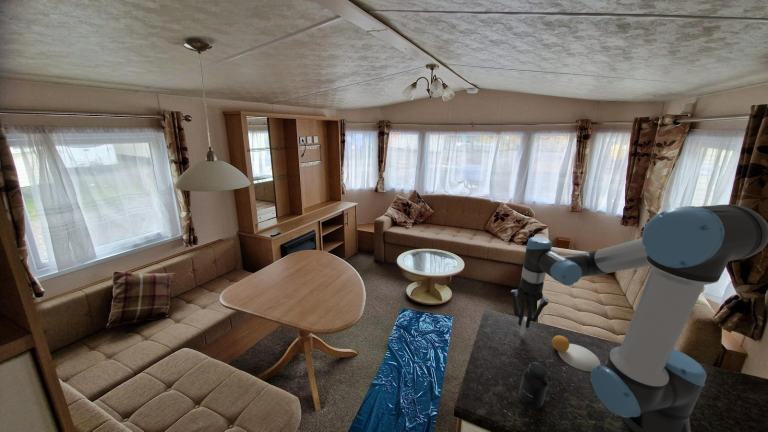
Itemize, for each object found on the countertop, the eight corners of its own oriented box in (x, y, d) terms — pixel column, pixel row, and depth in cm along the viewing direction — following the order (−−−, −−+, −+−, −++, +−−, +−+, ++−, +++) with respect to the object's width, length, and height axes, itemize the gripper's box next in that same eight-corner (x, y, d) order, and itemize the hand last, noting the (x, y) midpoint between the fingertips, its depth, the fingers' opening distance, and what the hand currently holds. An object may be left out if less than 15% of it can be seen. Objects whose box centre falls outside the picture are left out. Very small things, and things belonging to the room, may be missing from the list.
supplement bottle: (519, 406, 92) (526, 374, 88) (517, 387, 98) (523, 356, 94) (545, 412, 90) (553, 380, 86) (541, 393, 96) (548, 362, 92)
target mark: (601, 377, 102) (601, 377, 102) (556, 361, 109) (556, 360, 109) (599, 352, 113) (599, 352, 113) (559, 339, 119) (559, 339, 119)
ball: (572, 350, 109) (558, 338, 110) (561, 357, 112) (547, 346, 113) (573, 340, 113) (559, 329, 114) (562, 347, 116) (549, 337, 117)
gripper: (553, 279, 112) (542, 333, 119) (515, 269, 118) (506, 321, 126) (551, 288, 106) (539, 345, 113) (511, 278, 112) (502, 332, 120)
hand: (522, 332), depth 119 cm, fingers closed
